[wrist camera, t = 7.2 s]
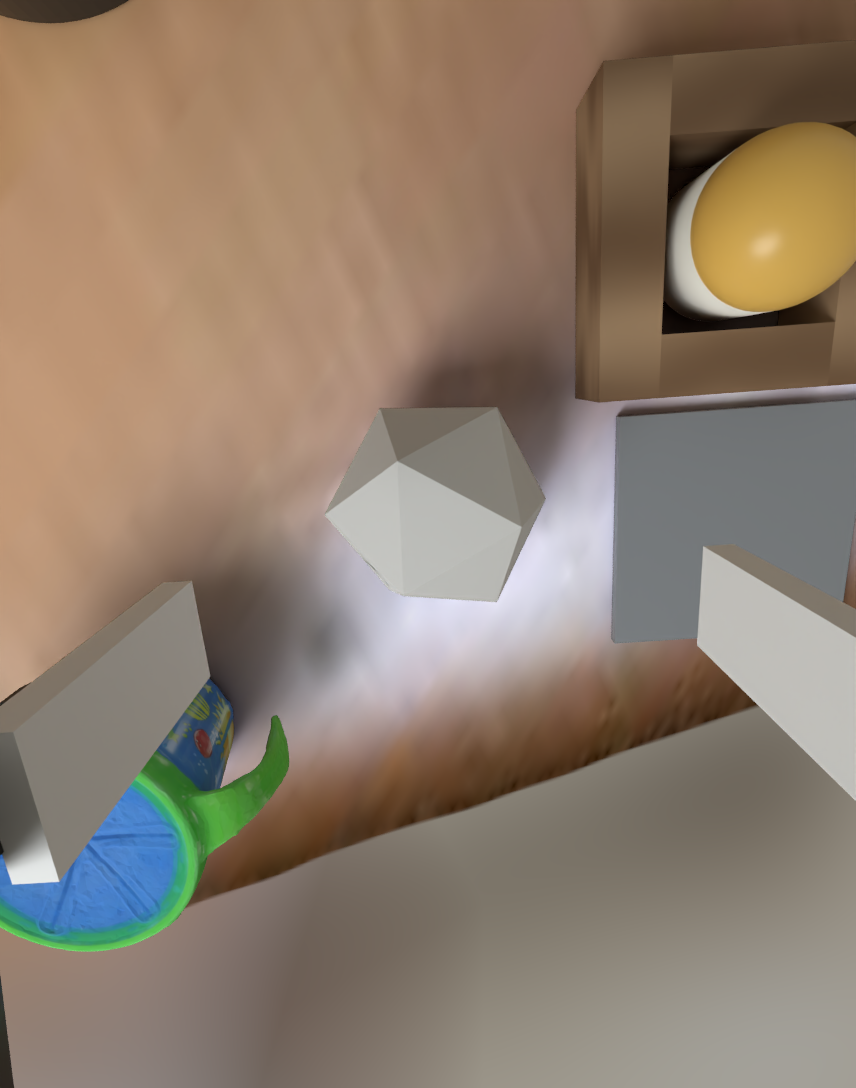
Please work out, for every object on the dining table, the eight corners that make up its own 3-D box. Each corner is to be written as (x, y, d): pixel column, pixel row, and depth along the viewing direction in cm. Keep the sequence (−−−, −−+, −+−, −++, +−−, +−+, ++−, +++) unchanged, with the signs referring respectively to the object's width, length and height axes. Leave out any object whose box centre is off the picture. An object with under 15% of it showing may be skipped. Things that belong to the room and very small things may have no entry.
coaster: (616, 416, 28) (620, 417, 28) (863, 398, 28) (872, 399, 27) (611, 638, 32) (614, 643, 31) (831, 624, 31) (839, 628, 31)
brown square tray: (576, 110, 25) (603, 60, 21) (859, 86, 24) (940, 32, 20) (575, 398, 28) (599, 402, 24) (824, 380, 28) (888, 381, 24)
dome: (652, 176, 24) (744, 95, 17) (794, 165, 24) (946, 79, 17) (647, 326, 26) (729, 308, 19) (780, 316, 26) (912, 295, 19)
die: (350, 391, 29) (255, 539, 22) (513, 330, 24) (449, 498, 17) (433, 510, 33) (374, 658, 27) (583, 479, 28) (552, 652, 22)
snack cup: (297, 622, 31) (238, 733, 22) (318, 783, 34) (276, 946, 25) (14, 637, 32) (-170, 755, 22) (60, 796, 35) (-84, 963, 25)
